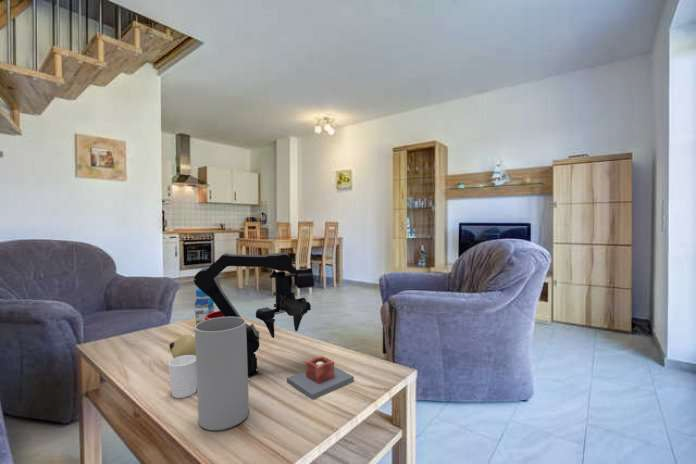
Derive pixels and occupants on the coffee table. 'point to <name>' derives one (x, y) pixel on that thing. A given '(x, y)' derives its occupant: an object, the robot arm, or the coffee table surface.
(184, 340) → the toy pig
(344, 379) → the flat gray board
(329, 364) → the red square tube
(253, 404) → the coffee table surface
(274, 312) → the robot arm
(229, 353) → the cylinder vase
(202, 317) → the beverage bottle
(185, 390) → the white cup
